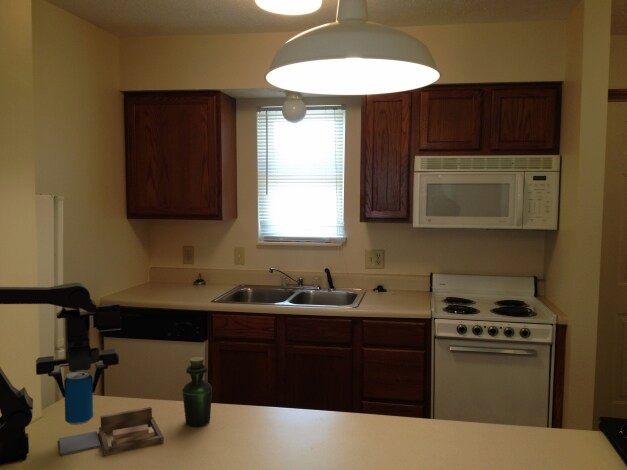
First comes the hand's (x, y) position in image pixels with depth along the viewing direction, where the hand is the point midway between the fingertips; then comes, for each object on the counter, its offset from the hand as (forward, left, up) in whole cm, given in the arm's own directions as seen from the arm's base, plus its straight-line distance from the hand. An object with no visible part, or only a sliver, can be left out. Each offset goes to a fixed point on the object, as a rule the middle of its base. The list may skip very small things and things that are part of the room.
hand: (78, 394), depth 131 cm
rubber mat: (0, 0, -13) cm, 13 cm away
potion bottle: (+30, -2, -13) cm, 33 cm away
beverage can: (0, 0, -7) cm, 7 cm away
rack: (+12, -3, -13) cm, 18 cm away
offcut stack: (+12, -7, -13) cm, 19 cm away
